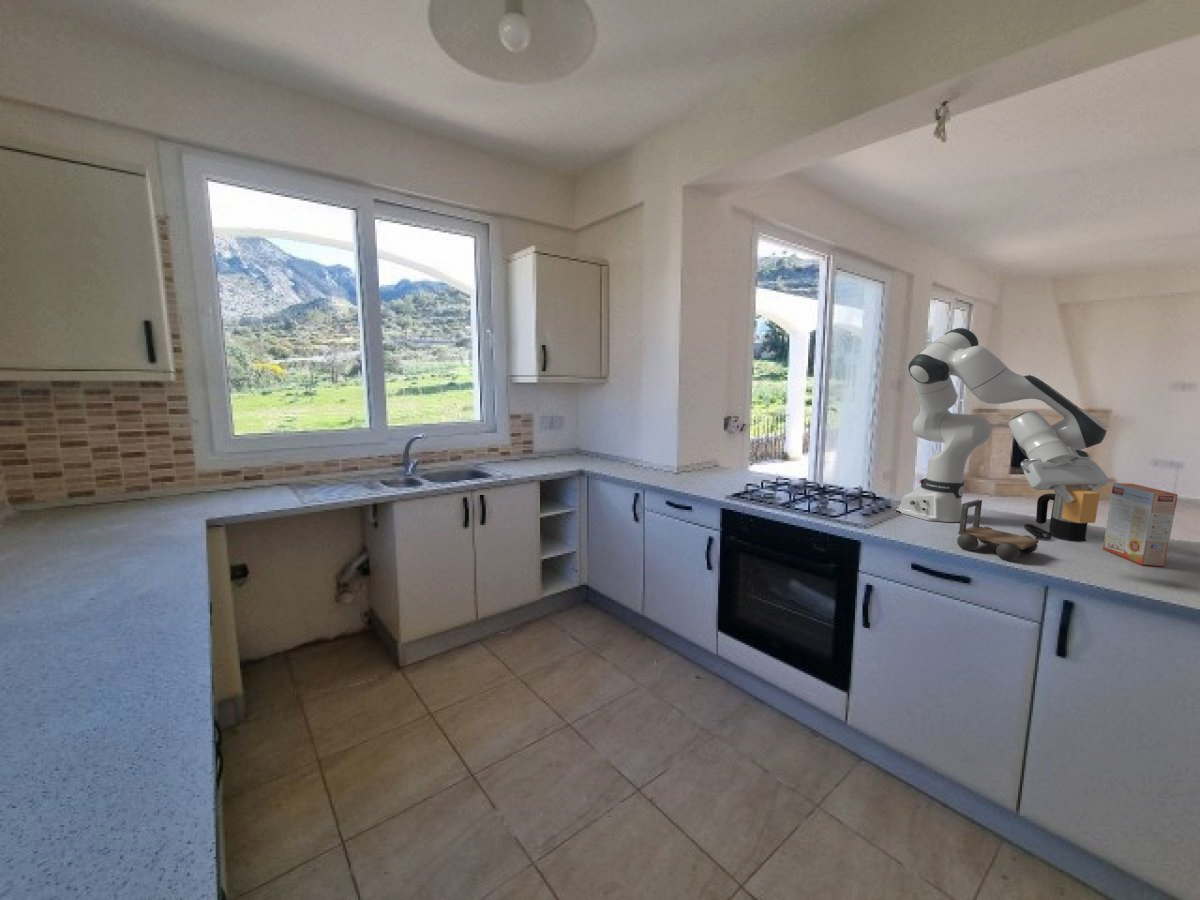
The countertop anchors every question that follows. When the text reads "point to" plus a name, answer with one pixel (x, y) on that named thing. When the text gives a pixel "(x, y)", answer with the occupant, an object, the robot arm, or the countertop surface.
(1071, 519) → the block
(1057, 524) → the milk frother
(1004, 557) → the trolley
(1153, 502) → the cracker box
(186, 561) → the countertop surface
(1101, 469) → the robot arm
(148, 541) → the countertop surface
